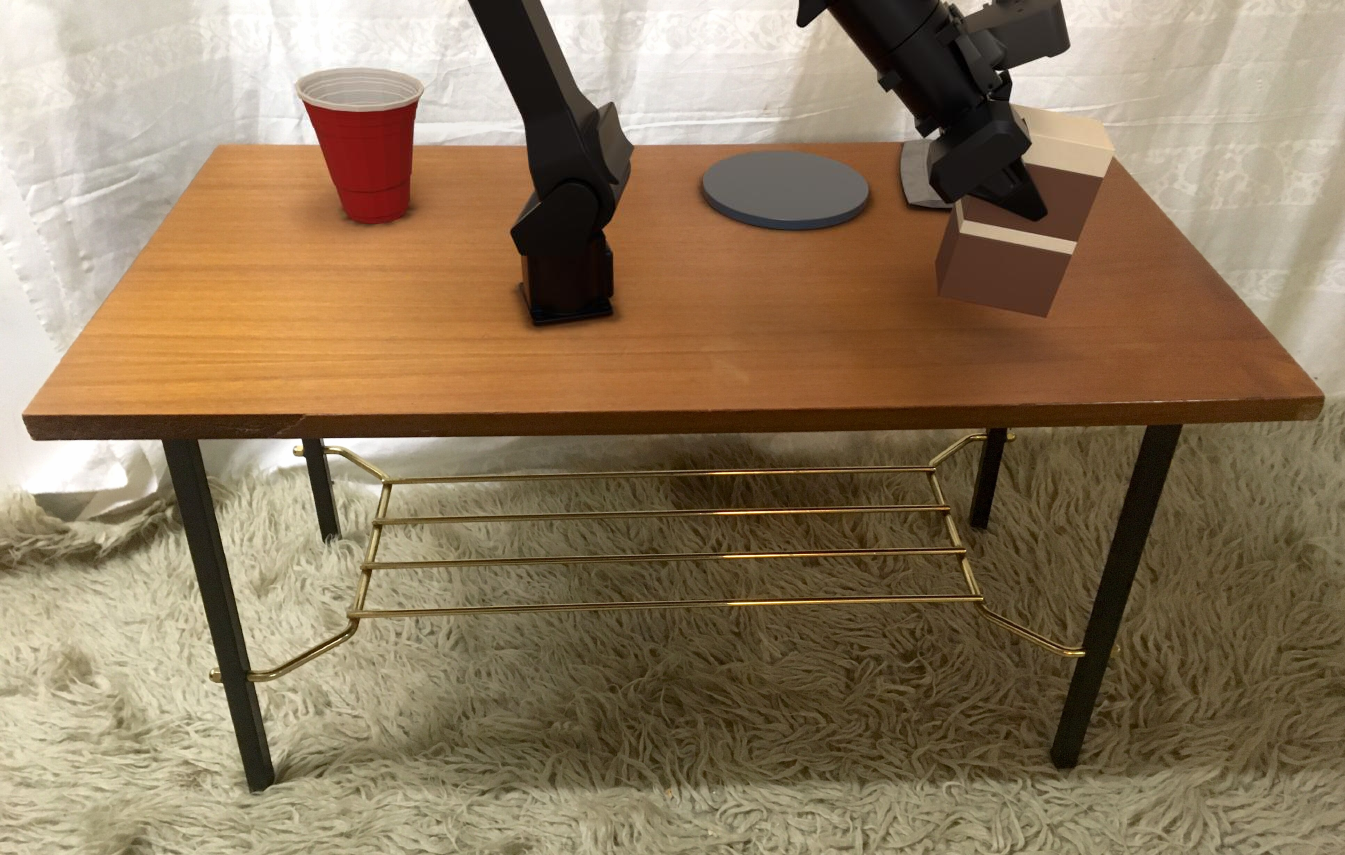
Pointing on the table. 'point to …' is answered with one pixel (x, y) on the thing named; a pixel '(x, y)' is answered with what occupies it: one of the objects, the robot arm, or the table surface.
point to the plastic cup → (365, 136)
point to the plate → (785, 189)
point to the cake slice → (1014, 248)
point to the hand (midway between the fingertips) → (1036, 199)
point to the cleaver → (918, 175)
